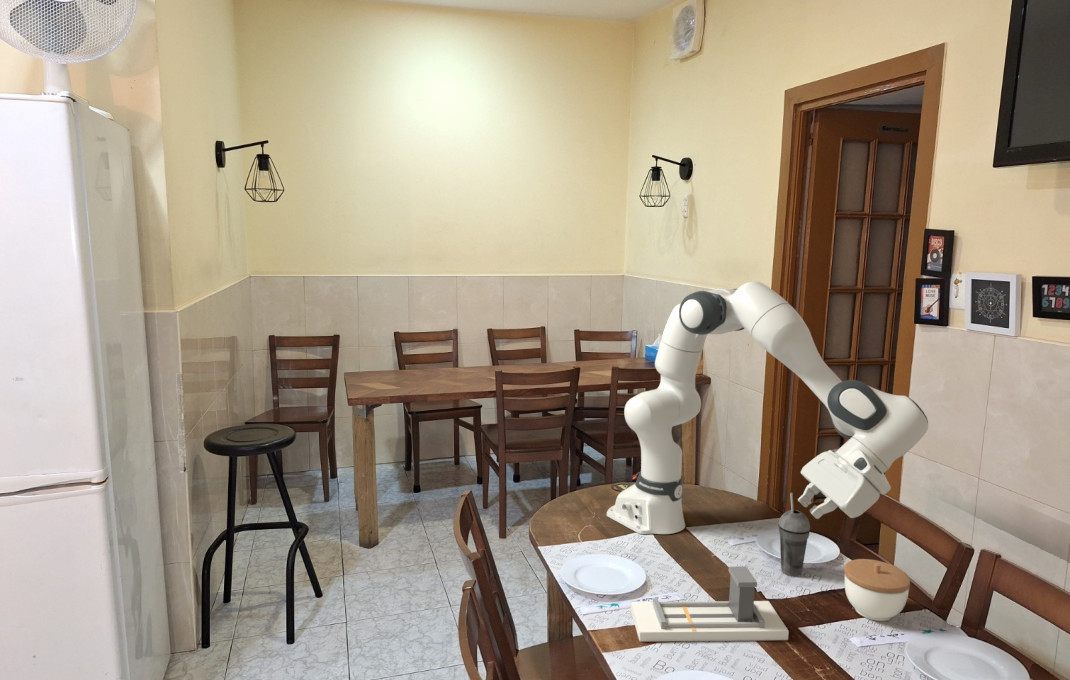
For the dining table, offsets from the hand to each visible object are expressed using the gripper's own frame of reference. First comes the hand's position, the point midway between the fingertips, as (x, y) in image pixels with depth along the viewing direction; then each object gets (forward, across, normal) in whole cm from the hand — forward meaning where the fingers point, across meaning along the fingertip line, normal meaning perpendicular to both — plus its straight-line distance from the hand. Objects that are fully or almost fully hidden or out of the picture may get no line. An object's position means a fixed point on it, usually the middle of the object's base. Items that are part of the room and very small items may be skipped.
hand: (806, 509), depth 136 cm
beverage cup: (+13, -22, +23) cm, 34 cm away
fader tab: (+25, 0, +8) cm, 26 cm away
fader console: (+32, 0, +4) cm, 32 cm away
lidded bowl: (+5, -4, +31) cm, 32 cm away
